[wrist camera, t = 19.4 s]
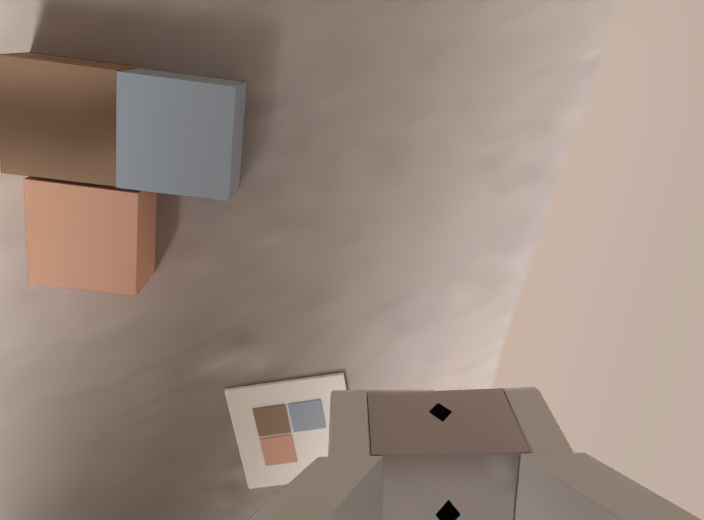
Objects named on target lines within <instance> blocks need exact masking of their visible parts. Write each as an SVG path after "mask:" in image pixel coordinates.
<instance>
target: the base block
mask: <svg viewBox="0 0 704 520" xmlns="http://www.w3.org/2000/svg"><path fill="white" fill-rule="evenodd" d="M136 68H139V67H138V66H131V65H123V64H115V63H108V62H100V61H92V60H85V59H77V58H69V57H62V56H54V55H47V54H39V53H31V52H27V53H10V54H0V167H1V173H7V174H16V175H24V176H32V177H40V178H49V179H57V180H65V181H74V182H82V183H90V184H98V185H107V186H115V187H116V71H123V70H129V69H136Z"/></svg>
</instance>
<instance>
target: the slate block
mask: <svg viewBox="0 0 704 520" xmlns="http://www.w3.org/2000/svg"><path fill="white" fill-rule="evenodd" d="M246 90H247V82H244V81H236V80H229V79H221V78H213V77H206V76H198V75H190V74H183V73H175V72H167V71H160V70H152V69H144V68H136V69H129V70H123V71H116V188H123V189H131V190H140V191H148V192H156V193H164V194H173V195H181V196H189V197H197V198H206V199H214V200H222V201H229V200H230V199H231V197H232V196H233V194H234V193H235V192H236V190H237V189H238V187H239V186H240V175H241V161H242V147H243V132H244V118H245V104H246Z"/></svg>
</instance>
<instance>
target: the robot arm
mask: <svg viewBox="0 0 704 520" xmlns="http://www.w3.org/2000/svg"><path fill="white" fill-rule="evenodd" d="M249 520H701V519H699V518H697V517H696V516H694V515H692V514H690V513H689V512H687V511H685V510H684V509H681V508H680V507H678V506H677V505H675V504H673V503H671V502H670V501H668V500H666V499H664V498H663V497H661V496H659V495H657V494H656V493H654V492H652V491H650V490H649V489H647V488H645V487H643V486H642V485H640V484H638V483H636V482H635V481H633V480H631V479H629V478H628V477H626V476H624V475H622V474H621V473H619V472H617V471H615V470H614V469H612V468H610V467H609V466H607V465H605V464H603V463H602V462H600V461H598V460H596V459H595V458H593V457H591V456H589V455H588V454H586V453H574V452H573V450H572V448H571V447H570V445H569V443H568V441H567V440H566V438H565V436H564V434H563V432H562V431H561V429H560V427H559V425H558V423H557V422H556V420H555V418H554V416H553V414H552V413H551V411H550V409H549V407H548V405H547V404H546V402H545V400H544V398H543V397H542V395H541V393H540V391H539V390H538V389H537V388H535V387H521V388H499V389H474V390H448V391H434V390H367V392H366V391H365V389H363V390H332V392H331V396H330V420H329V444H328V457H317V458H316V459H315V460H314V461H313V462H312V463H311V464H309V465H308V466H307V467H306V468H305V469H304V470H303V471H302V472H301V473H299V474H298V475H297V476H296V477H295V478H294V479H293V480H292V481H291V482H290V483H288V484H287V485H286V486H285V487H284V488H283V489H282V490H281V491H280V492H278V493H277V494H276V495H275V496H274V497H273V498H272V499H271V500H270V501H269V502H267V503H266V504H265V505H264V506H263V507H262V508H261V509H260V510H259V511H257V512H256V513H255V514H254V515H253V516H252V517H251V518H250V519H249Z"/></svg>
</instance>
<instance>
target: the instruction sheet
mask: <svg viewBox="0 0 704 520" xmlns="http://www.w3.org/2000/svg"><path fill="white" fill-rule="evenodd" d="M332 390H346V384H345V378H344V373H343V372H342V373H335V374H327V375H320V376H313V377H306V378H298V379H291V380H284V381H277V382H270V383H262V384H255V385H248V386H241V387H233V388H226V389H225V390H224V393H225V397H226V401H227V405H228V409H229V413H230V417H231V421H232V425H233V429H234V433H235V437H236V441H237V445H238V449H239V453H240V457H241V461H242V465H243V469H244V473H245V477H246V481H247V485H248V489H254V488H261V487H269V486H276V485H284V484H288V483H290V482H291V481H292V480H293V479H294V478H295V477H296V476H297V475H298V474H299V473H301V472H302V471H303V470H304V469H305V468H306V467H307V466H308V465H309V464H311V463H312V462H313V461H314V460H315V459H316V458H317V457H328V444H329V420H330V396H331V392H332Z"/></svg>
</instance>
